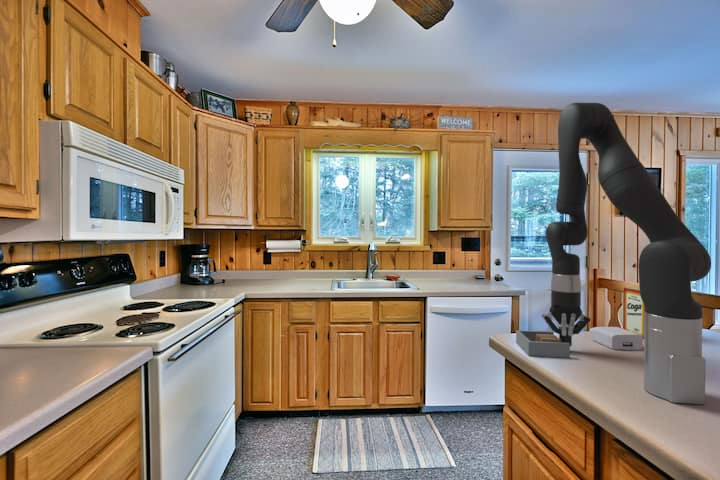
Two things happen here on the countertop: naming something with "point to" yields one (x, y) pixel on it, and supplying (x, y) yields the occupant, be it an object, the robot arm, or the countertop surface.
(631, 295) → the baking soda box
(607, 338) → the charger
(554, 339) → the brown wooden block
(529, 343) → the box
